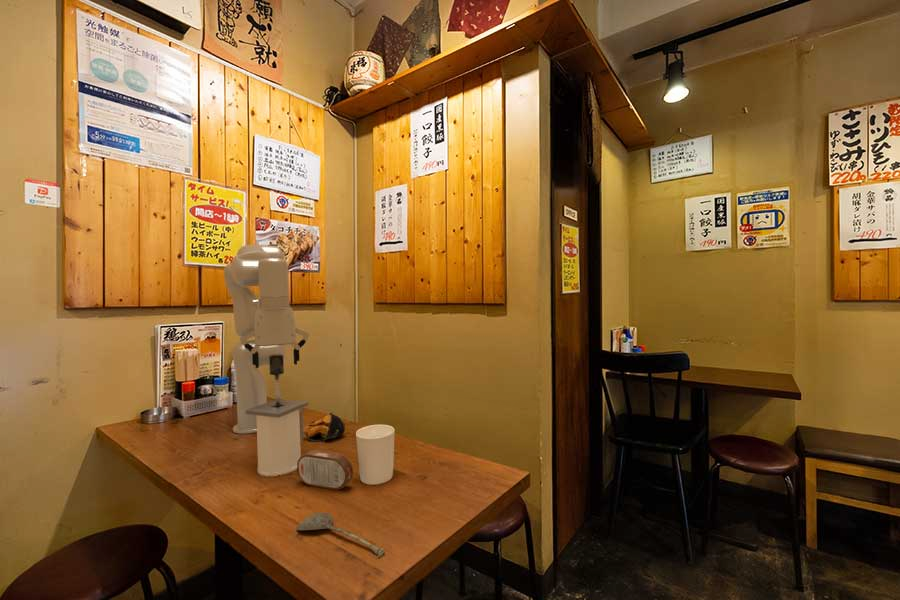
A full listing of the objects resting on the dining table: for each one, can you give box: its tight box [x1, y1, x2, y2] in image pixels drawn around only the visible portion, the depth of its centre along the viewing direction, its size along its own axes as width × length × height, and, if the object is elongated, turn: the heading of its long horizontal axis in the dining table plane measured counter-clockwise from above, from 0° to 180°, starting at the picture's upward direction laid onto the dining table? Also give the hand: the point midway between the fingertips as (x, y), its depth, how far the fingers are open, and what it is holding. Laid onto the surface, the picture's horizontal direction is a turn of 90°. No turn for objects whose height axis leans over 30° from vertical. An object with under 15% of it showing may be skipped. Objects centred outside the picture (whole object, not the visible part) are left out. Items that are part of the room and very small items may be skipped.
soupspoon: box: [295, 512, 386, 559], centre depth 75 cm, size 22×3×7 cm
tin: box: [296, 449, 354, 491], centre depth 96 cm, size 15×3×8 cm, turn 71°
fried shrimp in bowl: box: [303, 412, 346, 442], centre depth 126 cm, size 9×11×18 cm
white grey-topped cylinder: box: [246, 398, 309, 477], centre depth 108 cm, size 14×11×17 cm
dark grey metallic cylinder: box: [268, 354, 285, 408], centre depth 107 cm, size 8×8×17 cm
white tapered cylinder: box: [355, 424, 396, 486], centre depth 100 cm, size 10×10×12 cm
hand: (276, 365), depth 106 cm, fingers open, 9 cm apart
